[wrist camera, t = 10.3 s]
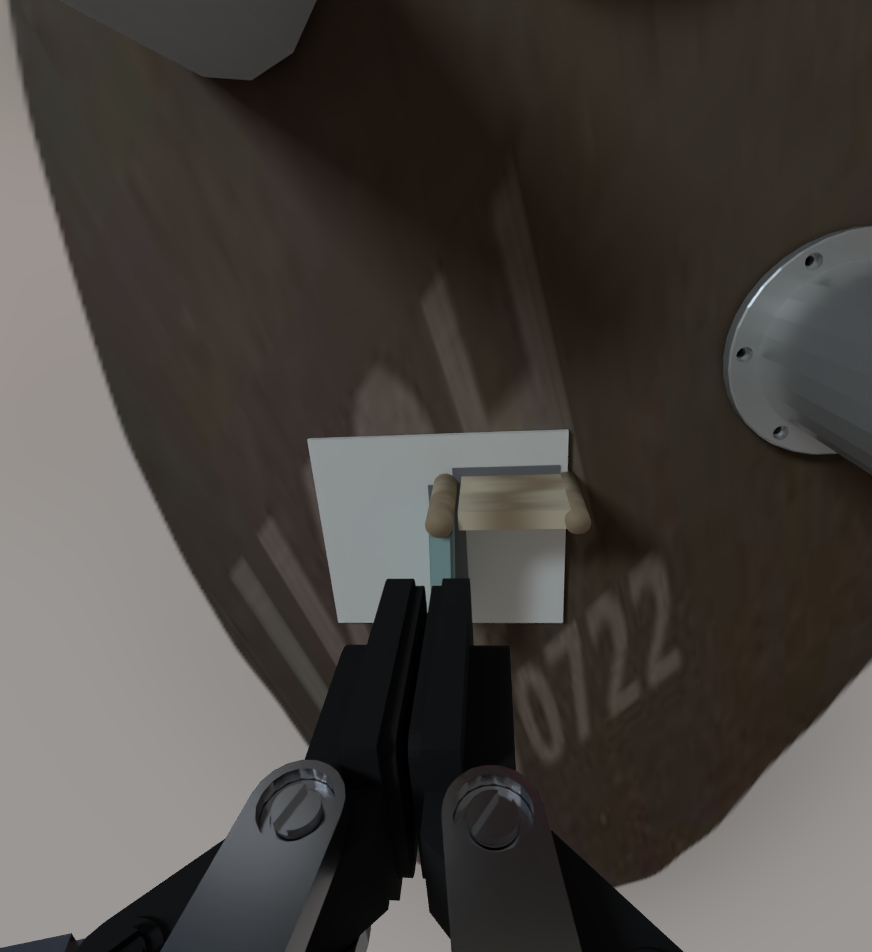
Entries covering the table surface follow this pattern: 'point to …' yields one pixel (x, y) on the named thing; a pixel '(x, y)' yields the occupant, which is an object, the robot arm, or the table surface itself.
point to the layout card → (404, 515)
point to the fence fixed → (508, 503)
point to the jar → (208, 31)
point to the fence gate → (442, 557)
